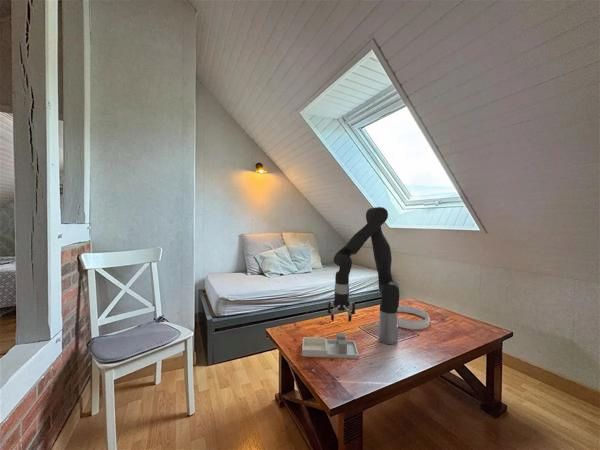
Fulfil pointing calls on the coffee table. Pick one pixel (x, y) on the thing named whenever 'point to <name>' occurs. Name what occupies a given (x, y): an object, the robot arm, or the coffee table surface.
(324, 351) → the open box
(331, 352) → the parts tray
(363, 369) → the coffee table surface
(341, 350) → the light grey block
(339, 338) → the blue-grey block
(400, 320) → the white ring
